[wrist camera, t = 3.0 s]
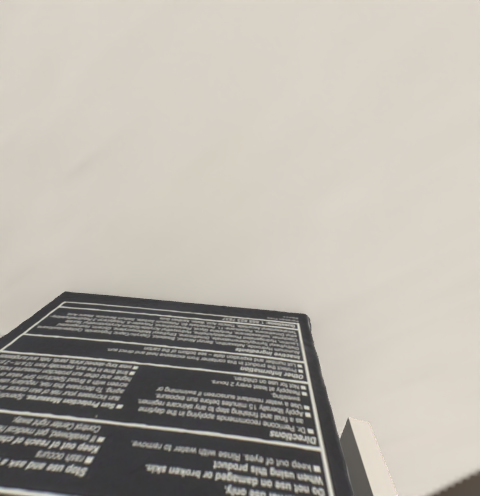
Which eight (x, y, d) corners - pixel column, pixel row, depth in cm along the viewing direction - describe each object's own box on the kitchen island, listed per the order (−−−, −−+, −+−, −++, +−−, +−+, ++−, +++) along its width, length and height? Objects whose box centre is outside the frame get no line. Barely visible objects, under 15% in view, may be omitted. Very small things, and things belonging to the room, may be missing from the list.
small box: (74, 411, 15) (-326, 936, 5) (61, 287, 13) (-624, 709, 3) (294, 437, 14) (364, 1106, 4) (312, 309, 12) (510, 949, 2)
